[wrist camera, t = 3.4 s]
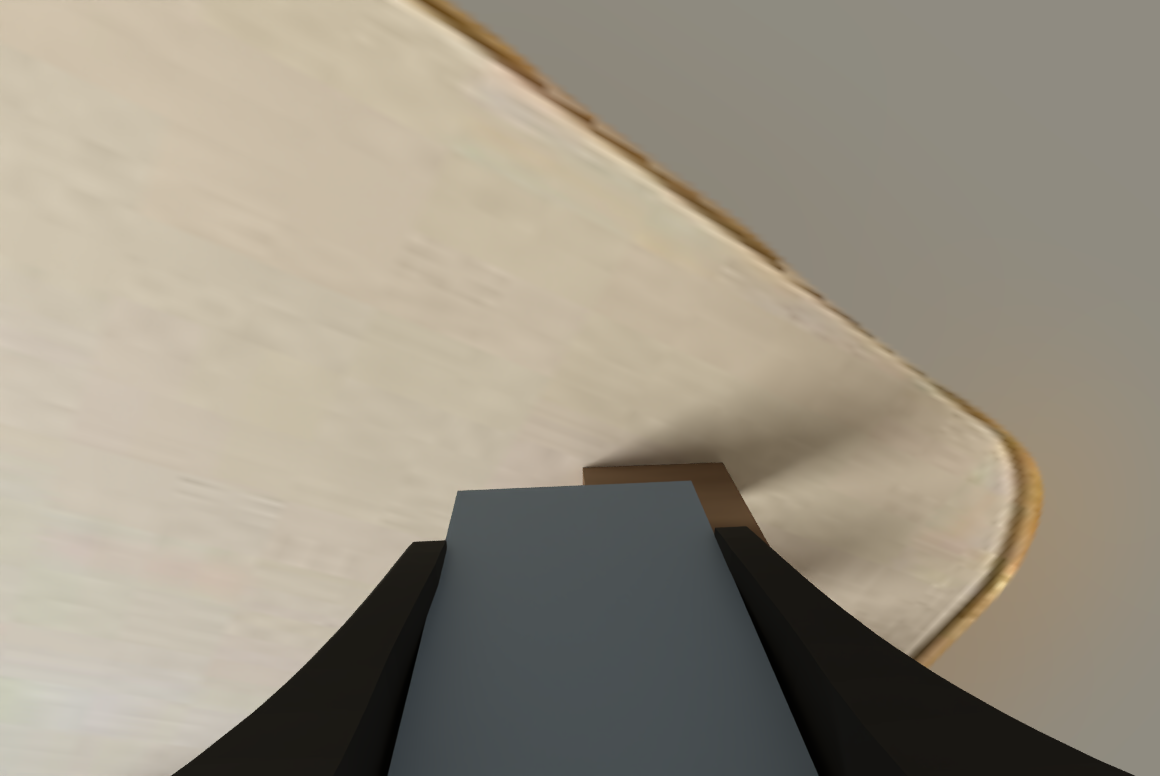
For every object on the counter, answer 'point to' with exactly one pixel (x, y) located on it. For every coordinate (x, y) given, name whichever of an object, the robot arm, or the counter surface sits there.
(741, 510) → the domino
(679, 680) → the end domino
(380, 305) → the counter surface
